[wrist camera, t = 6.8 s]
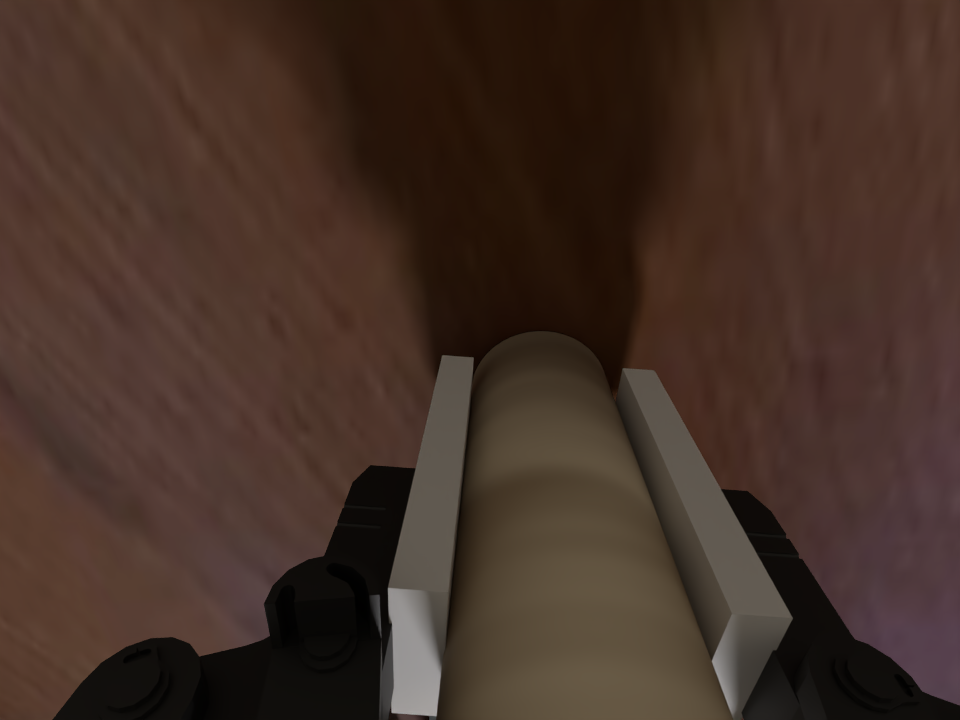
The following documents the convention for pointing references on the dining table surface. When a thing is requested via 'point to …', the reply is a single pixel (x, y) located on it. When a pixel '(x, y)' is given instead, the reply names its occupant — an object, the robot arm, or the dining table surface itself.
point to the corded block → (563, 558)
